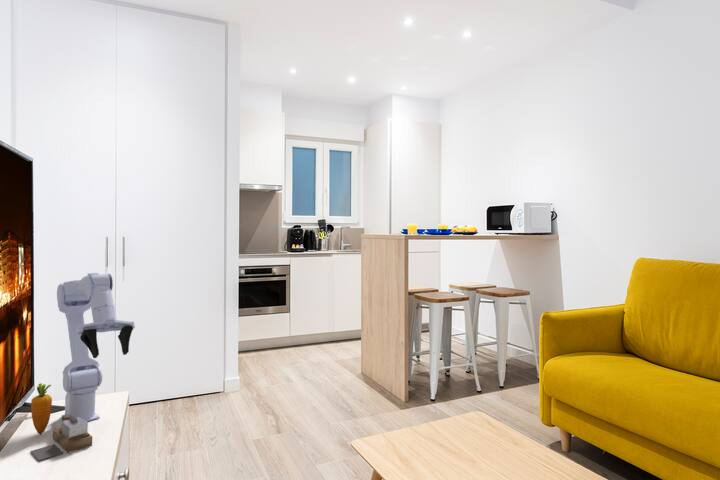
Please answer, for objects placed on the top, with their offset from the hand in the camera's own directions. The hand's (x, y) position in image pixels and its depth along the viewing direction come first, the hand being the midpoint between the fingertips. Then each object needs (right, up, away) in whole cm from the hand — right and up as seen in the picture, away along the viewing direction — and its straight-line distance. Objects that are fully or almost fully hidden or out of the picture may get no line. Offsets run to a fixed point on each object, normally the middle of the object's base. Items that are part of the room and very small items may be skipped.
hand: (111, 354), depth 122 cm
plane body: (-13, -26, +4) cm, 29 cm away
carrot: (-25, -25, +8) cm, 36 cm away
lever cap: (-12, -23, +3) cm, 26 cm away
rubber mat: (-16, -26, -3) cm, 30 cm away
